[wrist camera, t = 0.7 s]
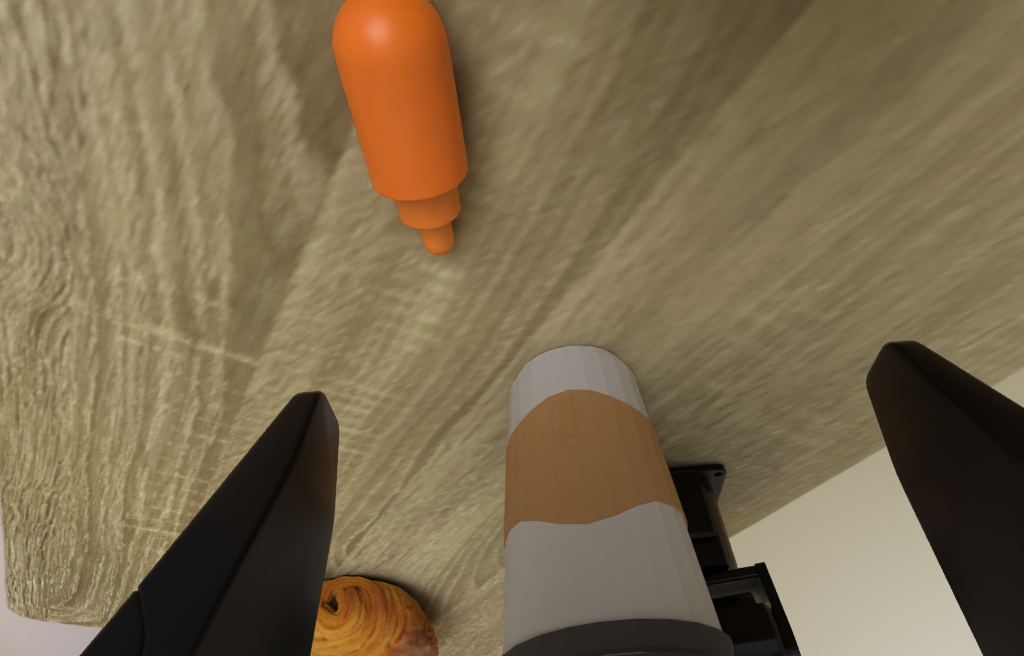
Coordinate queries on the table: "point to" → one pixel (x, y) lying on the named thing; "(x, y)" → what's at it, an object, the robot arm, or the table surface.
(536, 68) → the table surface
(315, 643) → the croissant
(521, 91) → the table surface
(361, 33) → the carrot
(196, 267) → the table surface
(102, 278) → the table surface
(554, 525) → the coffee cup
